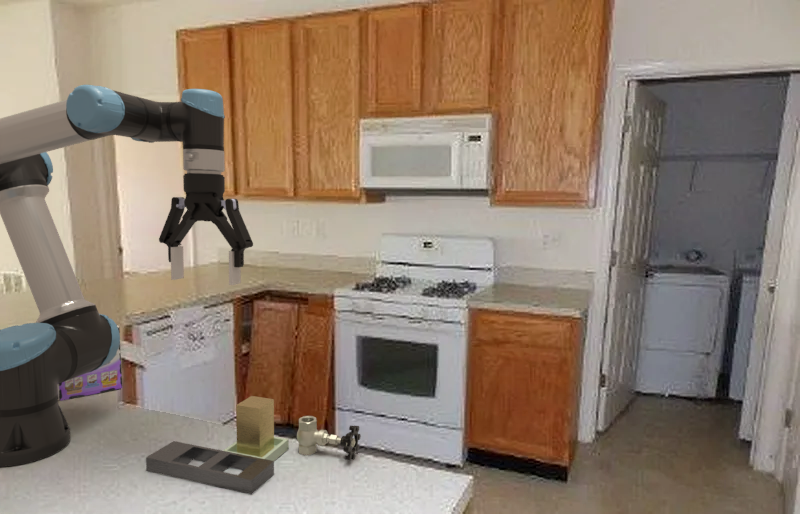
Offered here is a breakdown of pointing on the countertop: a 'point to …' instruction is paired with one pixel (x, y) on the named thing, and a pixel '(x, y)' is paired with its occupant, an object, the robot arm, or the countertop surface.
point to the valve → (324, 438)
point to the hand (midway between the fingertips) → (205, 281)
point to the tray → (277, 451)
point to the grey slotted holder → (210, 466)
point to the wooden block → (255, 426)
